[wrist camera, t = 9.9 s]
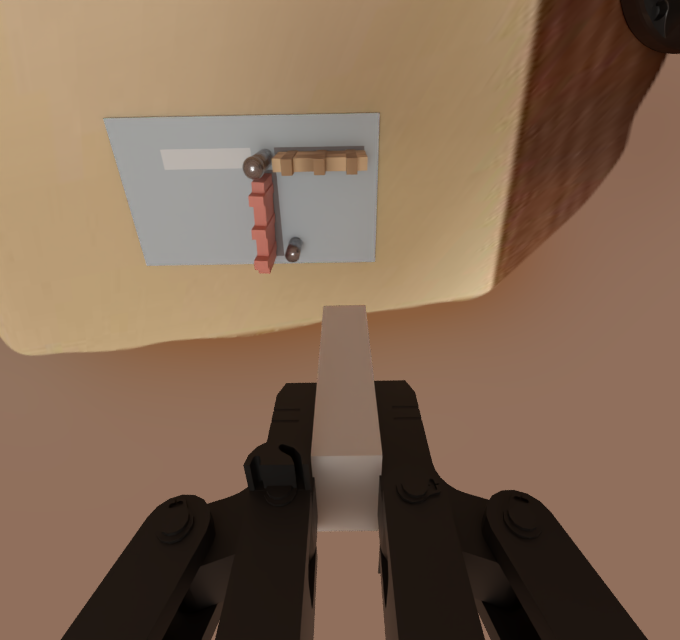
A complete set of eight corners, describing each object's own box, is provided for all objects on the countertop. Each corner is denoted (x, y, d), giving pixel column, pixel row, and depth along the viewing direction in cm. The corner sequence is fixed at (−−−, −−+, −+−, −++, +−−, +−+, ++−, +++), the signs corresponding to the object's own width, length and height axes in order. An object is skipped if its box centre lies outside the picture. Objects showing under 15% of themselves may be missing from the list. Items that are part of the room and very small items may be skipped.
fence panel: (259, 173, 41) (247, 185, 35) (272, 173, 41) (262, 185, 35) (265, 256, 46) (255, 278, 40) (277, 256, 46) (268, 278, 40)
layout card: (379, 112, 39) (379, 112, 38) (374, 260, 47) (374, 261, 46) (105, 118, 39) (102, 118, 38) (148, 264, 47) (146, 265, 46)
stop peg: (302, 236, 45) (298, 248, 41) (302, 249, 46) (300, 262, 42) (288, 237, 45) (284, 248, 41) (289, 249, 46) (285, 262, 42)
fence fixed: (364, 149, 40) (368, 157, 34) (364, 163, 40) (368, 174, 35) (278, 150, 40) (268, 159, 34) (279, 165, 40) (270, 176, 35)
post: (273, 147, 40) (261, 157, 33) (275, 167, 41) (263, 181, 34) (254, 147, 40) (238, 158, 33) (257, 168, 41) (241, 181, 34)
